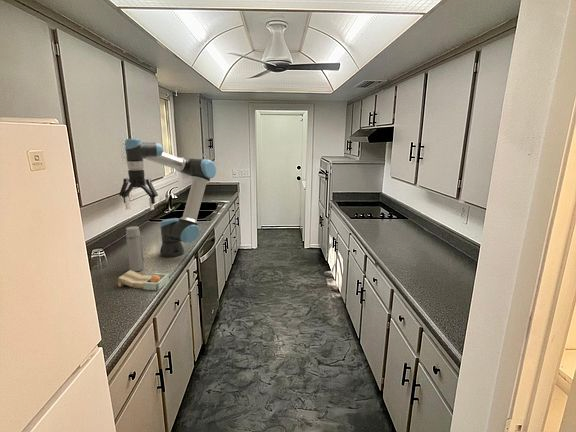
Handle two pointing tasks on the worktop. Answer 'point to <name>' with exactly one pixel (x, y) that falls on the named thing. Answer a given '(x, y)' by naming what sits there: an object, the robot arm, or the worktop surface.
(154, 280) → the ball
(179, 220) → the robot arm
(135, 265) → the water bottle
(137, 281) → the ramp lane
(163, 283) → the tray
